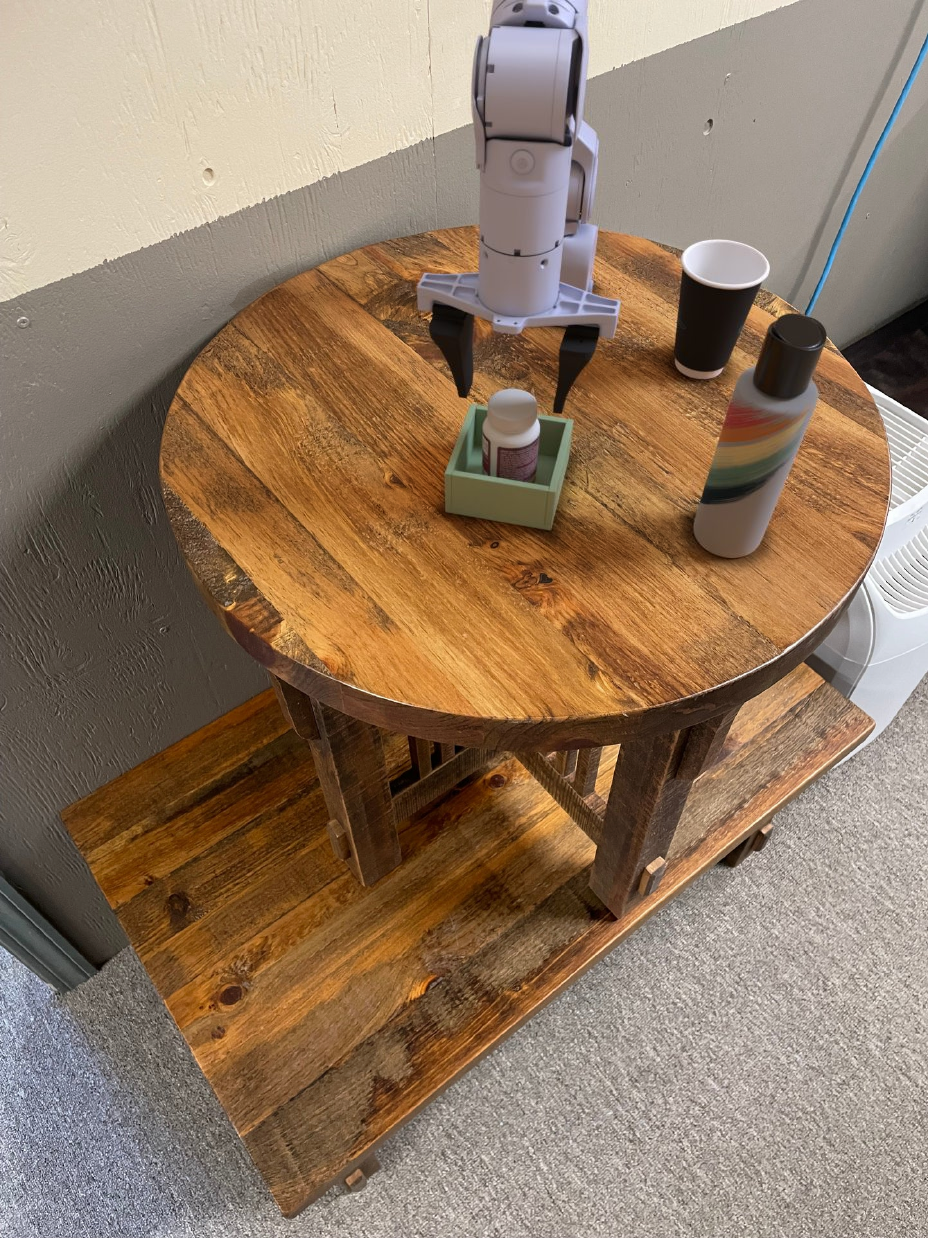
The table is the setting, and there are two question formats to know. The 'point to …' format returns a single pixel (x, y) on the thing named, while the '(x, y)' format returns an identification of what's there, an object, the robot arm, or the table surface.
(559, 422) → the sage green tray box
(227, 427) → the table surface
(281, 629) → the table surface
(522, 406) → the pill bottle
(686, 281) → the dixie cup
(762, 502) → the lotion bottle
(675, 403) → the table surface
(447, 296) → the robot arm
